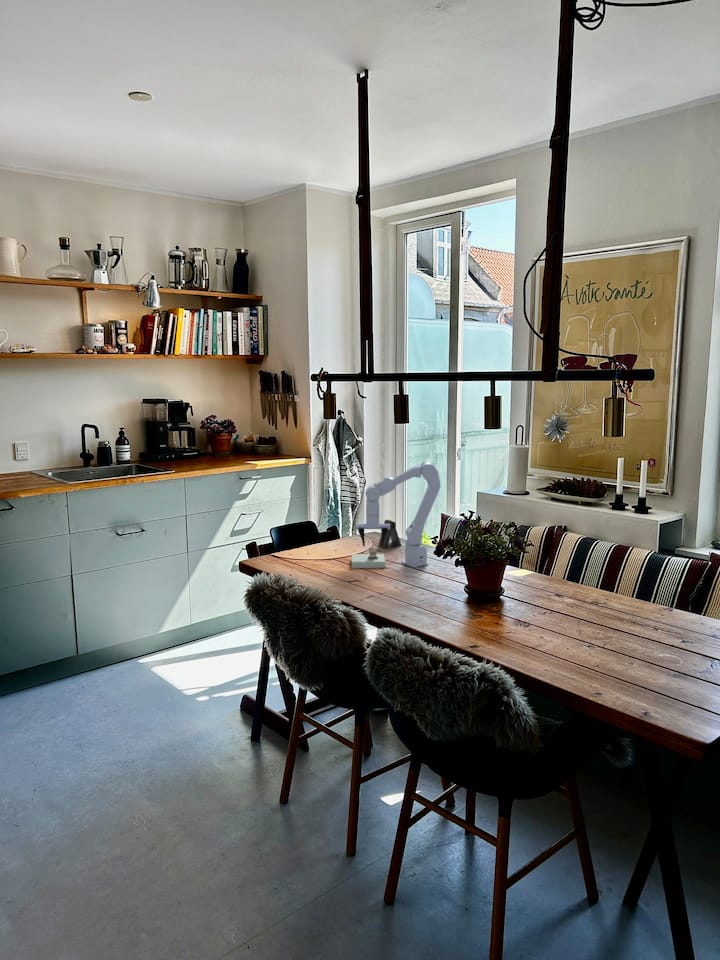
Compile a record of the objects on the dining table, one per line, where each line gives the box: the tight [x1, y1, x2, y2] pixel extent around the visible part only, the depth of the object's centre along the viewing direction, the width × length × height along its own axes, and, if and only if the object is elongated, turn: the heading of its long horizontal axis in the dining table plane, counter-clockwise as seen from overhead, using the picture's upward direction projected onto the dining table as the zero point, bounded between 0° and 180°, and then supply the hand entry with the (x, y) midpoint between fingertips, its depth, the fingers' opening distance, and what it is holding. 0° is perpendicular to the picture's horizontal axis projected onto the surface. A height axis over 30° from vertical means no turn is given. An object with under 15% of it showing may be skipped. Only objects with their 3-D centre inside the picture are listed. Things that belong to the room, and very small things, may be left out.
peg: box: [368, 546, 378, 559], centre depth 300 cm, size 3×3×7 cm
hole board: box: [351, 553, 386, 569], centre depth 300 cm, size 14×12×2 cm
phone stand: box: [378, 519, 402, 549], centre depth 329 cm, size 9×6×12 cm, turn 116°
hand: (372, 545), depth 299 cm, fingers open, 7 cm apart
